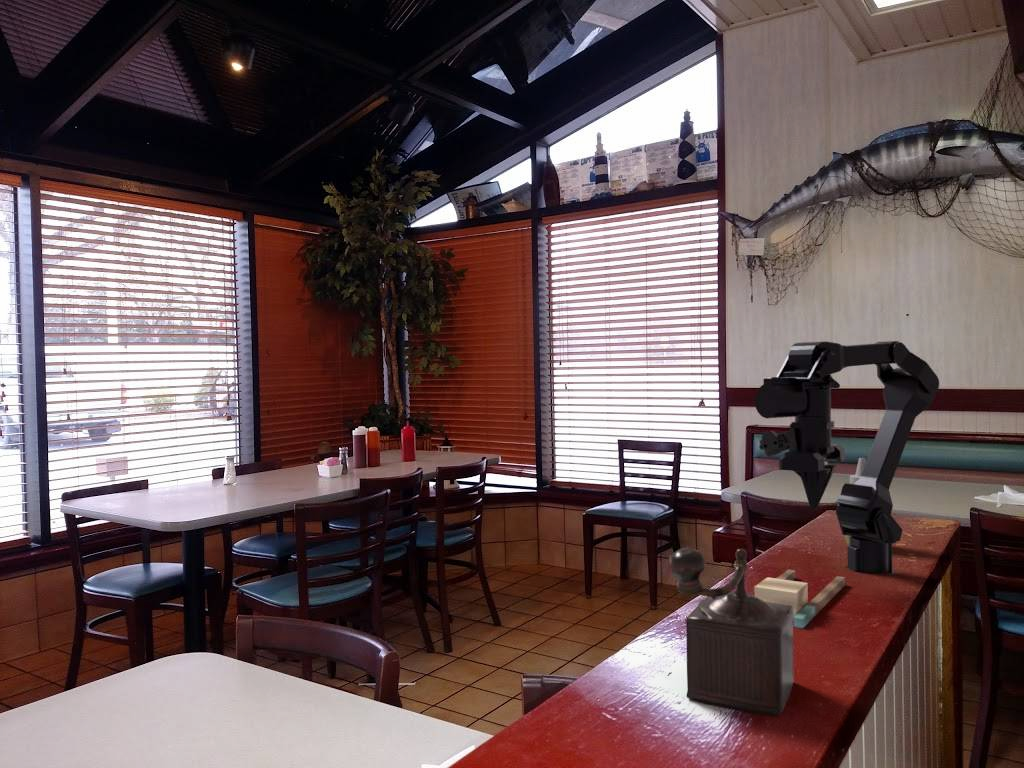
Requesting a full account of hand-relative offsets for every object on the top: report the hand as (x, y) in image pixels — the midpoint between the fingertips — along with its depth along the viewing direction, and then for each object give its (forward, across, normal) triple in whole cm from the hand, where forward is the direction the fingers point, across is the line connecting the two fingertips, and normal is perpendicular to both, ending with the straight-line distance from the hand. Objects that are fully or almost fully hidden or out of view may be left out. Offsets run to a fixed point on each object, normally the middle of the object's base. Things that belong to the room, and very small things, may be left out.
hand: (813, 507), depth 131 cm
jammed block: (+12, +20, 0) cm, 24 cm away
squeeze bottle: (+13, -32, +1) cm, 34 cm away
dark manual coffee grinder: (+13, +52, +5) cm, 53 cm away
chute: (+13, +13, 0) cm, 19 cm away
